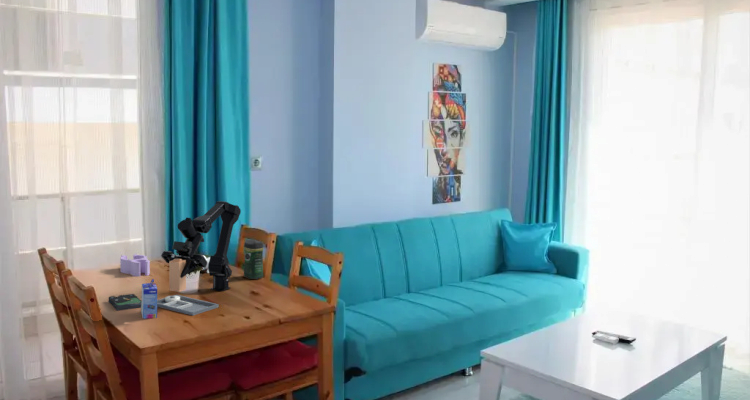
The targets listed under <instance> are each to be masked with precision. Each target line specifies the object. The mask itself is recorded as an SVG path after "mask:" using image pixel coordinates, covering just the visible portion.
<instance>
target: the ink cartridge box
mask: <svg viewBox="0 0 750 400" xmlns="http://www.w3.org/2000/svg"><path fill="white" fill-rule="evenodd" d="M140 300H141V308H140V313H141V317H142V319H144V320H145V319H157V318H158V307H157V300H158V287H157V283H155V279H154V278H152V279H151V281H150V282H149V283H147V282H146V283H141V299H140Z"/></svg>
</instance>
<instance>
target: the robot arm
mask: <svg viewBox="0 0 750 400" xmlns="http://www.w3.org/2000/svg"><path fill="white" fill-rule="evenodd" d="M240 215H241V208H240V207H239V205H236V204H231V203H229V202H227V201H224V200H223V201H221V200H218V201H216V202H215V203H214V205H213V206H212V207H210V209H209V210H207V212H206V213H204V214H203V215H200V216H197V217H195V218H194V219H192V218H191V217H185V219H182V220H181V221H180V222H179V223H178V224H177V229H178V231H179V232H180V233H181V235H182V236H183V237H184V238H185V241H173V244H172V248H171V249H172V250H175V252H176V254H175V253H174V252H173V251H171V250H165V251H162V253H161V255H160V256H161V257H162V258H163V260H164V261H165V263H166V264H169V261H172V260H173V259H177V258H180V259H182V260H186V264H185V267H184V269H183V271H182V273H181V275H180V277H181V278H183V277H184V276H185V275H186V276H187V275H188V274H189V273H191V272H192V271H194V270H195V269H198V268H203V267H204V268H205V267H206V265H207V260H206V259H205V258H204V256H205V255H204V256H203V254H198V253H199V250H198V248H199V246H200V244H201V243H205V239H204V235H203V234H208V233H209V232H210V231H211V229H212V227H213V225H212V224H213V223H214V222H215V221H216V220H217V219H218V218H219V217H220V219H221V222H222V224H221V228H220V233H219V237H218V242H217V245H216V250H215V253H214V254H213V255H210V256H209V257H210V261H209V264H208V268H207V270H209V273H208V274H209V276H210V277H212V287H210V290H214V291H217V292H224V291H227V290H230V289H231V287H230V286H229V282H230V281H229V278H230V277H231V276H232V273H233V270H232V269H231V267H230V266H229V264H230V262H229V259H228V258H229V257H228V250H229V245H230V241H231V236H232V232H233V228H234V224H236V223H237V221H239V218H240Z"/></svg>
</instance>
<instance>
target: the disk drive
mask: <svg viewBox="0 0 750 400" xmlns="http://www.w3.org/2000/svg"><path fill="white" fill-rule="evenodd" d="M108 302H109V304H110V305H111V306H112V307H113V308H114V309H115V310H116V311H118V312H119V311H124V310H133V309H141V299H140V297H138V296H137V295H136V294H135V293H130V294H129V293H128V294H121V295H118V296H115V295H111V296H108Z"/></svg>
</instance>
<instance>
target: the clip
mask: <svg viewBox="0 0 750 400" xmlns="http://www.w3.org/2000/svg"><path fill="white" fill-rule="evenodd" d="M132 256H133V257H132V258H133V259H132V258H131V259H128V255H120V261H119V263H120V265H119V266H120V273H123V274H127V275H131V277H141V274H144V275H145V276H149V275H150V274H151V272H150V271H151V270H150V266H151V265H150V264H151V263H150V262H151V261H150V259H148V256H147V255H144V254H137V253H134V254H133V255H132Z"/></svg>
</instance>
